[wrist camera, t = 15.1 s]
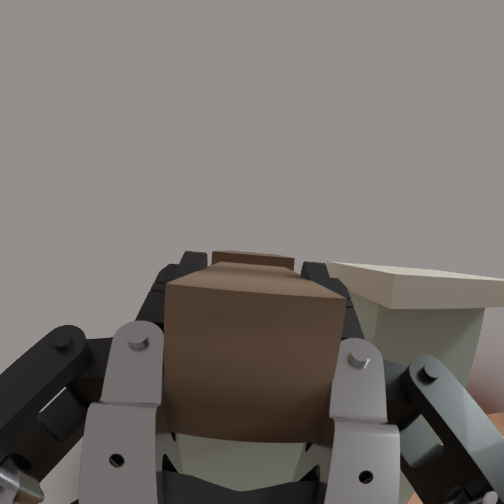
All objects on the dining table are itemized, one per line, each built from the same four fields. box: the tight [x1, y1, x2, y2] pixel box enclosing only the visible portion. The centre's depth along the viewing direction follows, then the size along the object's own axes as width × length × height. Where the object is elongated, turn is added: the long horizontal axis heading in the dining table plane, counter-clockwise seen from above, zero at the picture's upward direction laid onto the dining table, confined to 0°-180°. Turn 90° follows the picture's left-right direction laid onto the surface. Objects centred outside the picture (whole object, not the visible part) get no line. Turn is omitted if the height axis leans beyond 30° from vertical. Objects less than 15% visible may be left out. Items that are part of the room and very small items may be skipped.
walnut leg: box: [164, 251, 347, 443], centre depth 16 cm, size 22×4×4 cm, turn 0°
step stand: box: [178, 261, 504, 504], centre depth 22 cm, size 15×29×32 cm, turn 90°
